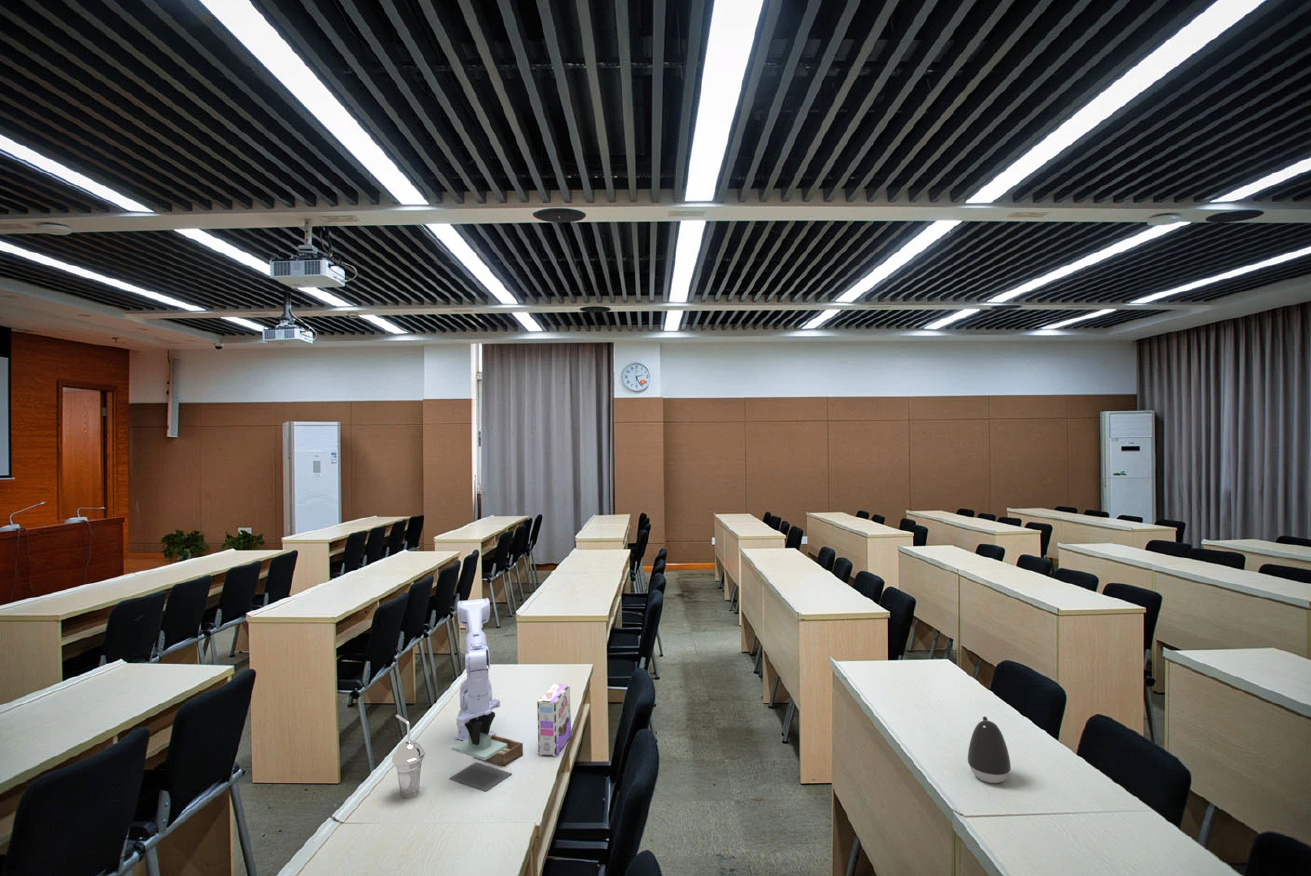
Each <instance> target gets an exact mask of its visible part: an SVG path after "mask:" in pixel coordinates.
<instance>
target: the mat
mask: <svg viewBox="0 0 1311 876" xmlns="http://www.w3.org/2000/svg"><path fill="white" fill-rule="evenodd" d="M512 775H513V773H512V772H508V771H505V770H502V769H501V768H500V769H499V768H497V767H492V766H490V765H487V764H484V763H481V762H477V761H475V762H473V763H472V764H471V765H469V766H467V767H465V768H463V769H462V770H460V771H458V772H457V773H455V774H454V775H452V776H450V777H449V778H448V779H449V780H451V781H454V782H457V783H460V784H462V785H465V786H468V787H471V788H474V789H475V790H480V791H483V792H485V793H486V792H488V791H490V790H492V788H494V787H496V786H497V785H498V784H500V783H502V782H503V781H505V780H506V779H508V778H509V777H510V776H512Z"/></svg>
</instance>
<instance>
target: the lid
mask: <svg viewBox="0 0 1311 876" xmlns="http://www.w3.org/2000/svg"><path fill="white" fill-rule="evenodd" d="M506 747H508V746H507V744H506V743H502V742H499V741H495V740H492V739H491V735H488V734H484V733H481V732H480V742H479V745H474V744H472V741H471V738H470V735H468V739H466V740H465V741H463V740H462V741H461V742H458V744H455V745H454V746H452V747H451V750H452V751H453V752H457V753H459V754H463V755H466V756H468V757H473V758H474V757H475V758H474V759H477V758H479V759H478V760H480V759H482V760H481V761H483V760H487V759H488V758H490V757H492V756H493V755H495V754H497V753H498V752H500V751H501V750H503V749H505V748H506Z"/></svg>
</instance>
